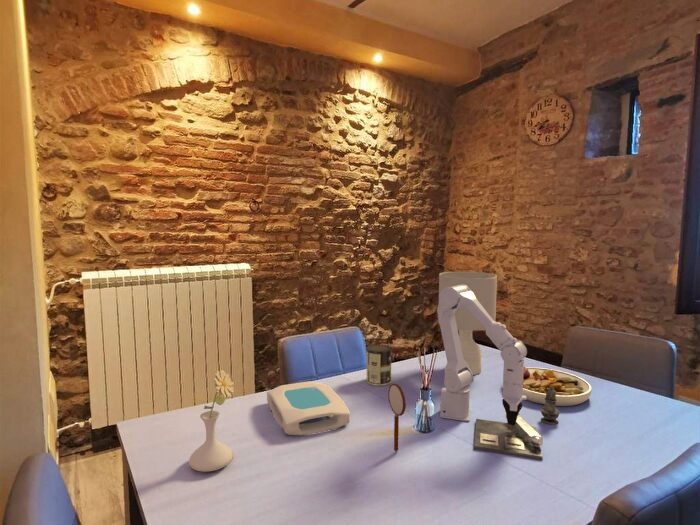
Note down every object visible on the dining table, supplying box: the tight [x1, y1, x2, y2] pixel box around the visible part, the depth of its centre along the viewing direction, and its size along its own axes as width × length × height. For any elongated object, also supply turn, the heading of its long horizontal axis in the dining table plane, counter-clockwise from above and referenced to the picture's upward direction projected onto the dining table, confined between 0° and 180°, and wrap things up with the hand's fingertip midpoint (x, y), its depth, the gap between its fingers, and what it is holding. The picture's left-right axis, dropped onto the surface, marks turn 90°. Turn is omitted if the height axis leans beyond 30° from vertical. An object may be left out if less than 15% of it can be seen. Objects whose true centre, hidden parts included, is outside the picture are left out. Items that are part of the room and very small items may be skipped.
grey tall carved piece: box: [539, 386, 561, 426], centre depth 140 cm, size 6×6×12 cm
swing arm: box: [505, 412, 544, 446], centre depth 130 cm, size 18×4×2 cm, turn 4°
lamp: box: [437, 271, 498, 376], centre depth 188 cm, size 24×24×42 cm
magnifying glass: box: [387, 383, 407, 454], centre depth 120 cm, size 9×2×20 cm, turn 23°
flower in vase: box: [188, 369, 234, 473], centre depth 115 cm, size 13×11×25 cm
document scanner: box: [266, 380, 351, 437], centre depth 145 cm, size 21×28×6 cm
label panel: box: [473, 418, 544, 461], centre depth 129 cm, size 18×18×2 cm
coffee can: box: [365, 344, 392, 387], centre depth 175 cm, size 10×10×14 cm
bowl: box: [523, 366, 592, 407], centre depth 165 cm, size 30×30×8 cm
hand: (511, 424), depth 133 cm, fingers closed
